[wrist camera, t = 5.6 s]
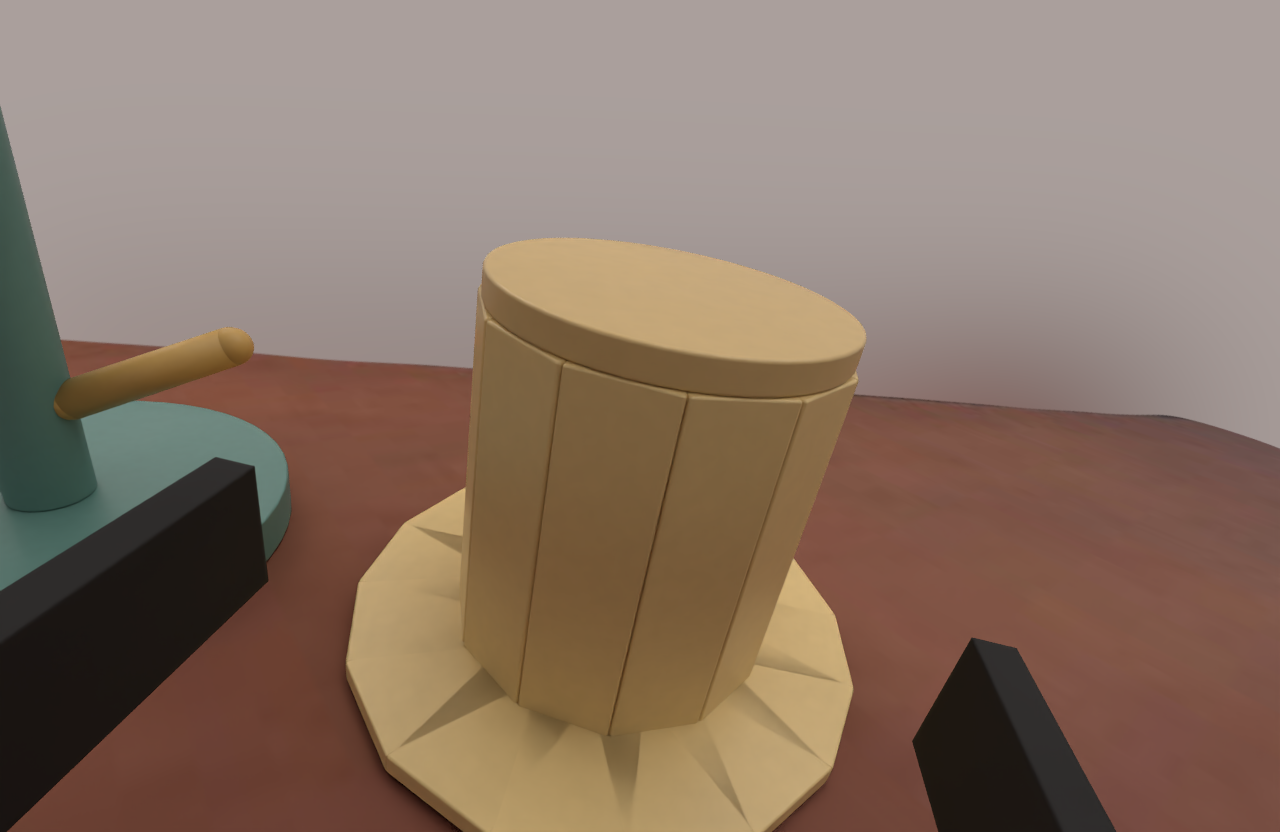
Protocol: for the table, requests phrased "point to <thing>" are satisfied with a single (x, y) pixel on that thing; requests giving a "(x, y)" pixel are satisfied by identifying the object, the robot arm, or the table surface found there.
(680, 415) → the hat
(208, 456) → the hat stand
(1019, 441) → the table surface
